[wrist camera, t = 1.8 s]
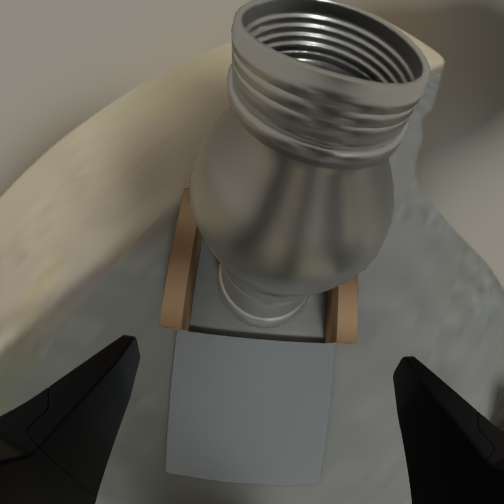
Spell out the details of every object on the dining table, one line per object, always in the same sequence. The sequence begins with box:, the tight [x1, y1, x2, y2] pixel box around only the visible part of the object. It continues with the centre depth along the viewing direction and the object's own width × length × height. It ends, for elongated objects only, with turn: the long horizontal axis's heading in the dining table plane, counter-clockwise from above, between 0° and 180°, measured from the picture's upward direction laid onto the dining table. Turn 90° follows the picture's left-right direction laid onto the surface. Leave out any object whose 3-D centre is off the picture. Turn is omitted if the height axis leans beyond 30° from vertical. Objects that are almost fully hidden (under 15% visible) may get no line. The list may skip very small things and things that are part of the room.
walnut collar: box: [159, 188, 358, 344], centre depth 22 cm, size 10×13×3 cm
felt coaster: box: [165, 330, 335, 485], centre depth 19 cm, size 12×12×1 cm
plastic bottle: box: [190, 0, 430, 328], centre depth 13 cm, size 6×7×20 cm
